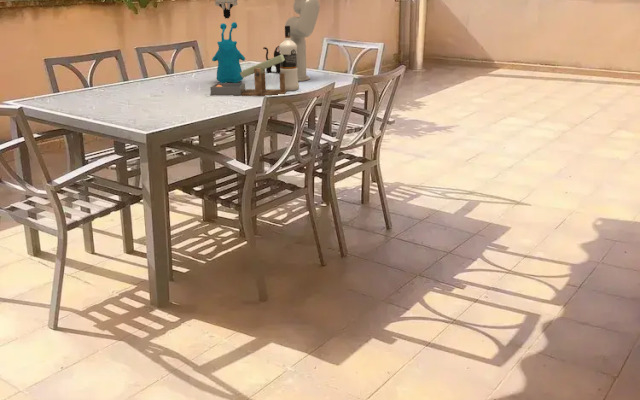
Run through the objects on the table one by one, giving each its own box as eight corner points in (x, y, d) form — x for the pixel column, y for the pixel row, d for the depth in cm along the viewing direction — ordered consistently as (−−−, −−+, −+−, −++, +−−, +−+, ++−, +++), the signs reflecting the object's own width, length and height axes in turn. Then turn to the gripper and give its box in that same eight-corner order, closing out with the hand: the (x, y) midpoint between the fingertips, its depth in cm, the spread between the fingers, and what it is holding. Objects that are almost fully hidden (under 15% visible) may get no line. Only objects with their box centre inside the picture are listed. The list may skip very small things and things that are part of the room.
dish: (216, 91, 331) (215, 83, 329) (245, 91, 329) (244, 83, 328) (210, 95, 321) (210, 87, 320) (240, 95, 319) (240, 87, 318)
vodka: (292, 87, 338) (290, 24, 328) (302, 89, 331) (301, 25, 321) (276, 89, 334) (273, 25, 324) (286, 92, 326) (283, 27, 316)
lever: (289, 59, 330) (285, 51, 328) (284, 64, 314) (280, 55, 313) (248, 76, 334) (245, 68, 333) (241, 82, 319) (237, 73, 318)
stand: (286, 91, 327) (285, 64, 323) (283, 96, 317) (282, 68, 313) (246, 91, 329) (245, 65, 325) (241, 95, 319) (239, 68, 315)
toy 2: (284, 74, 375) (284, 46, 370) (261, 73, 380) (259, 45, 375) (291, 72, 382) (290, 44, 377) (267, 71, 387) (266, 43, 382)
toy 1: (247, 78, 364) (244, 20, 354) (245, 84, 347) (242, 23, 337) (216, 79, 364) (212, 20, 354) (212, 85, 347) (207, 24, 337)
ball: (215, 85, 326) (222, 83, 326) (217, 92, 327) (224, 90, 327) (213, 86, 323) (220, 84, 322) (215, 93, 324) (222, 92, 323)
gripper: (242, -23, 327) (244, 17, 333) (211, -22, 328) (213, 17, 334) (238, -22, 320) (240, 18, 326) (207, -22, 321) (209, 19, 327)
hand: (227, 18), depth 330 cm, fingers closed
